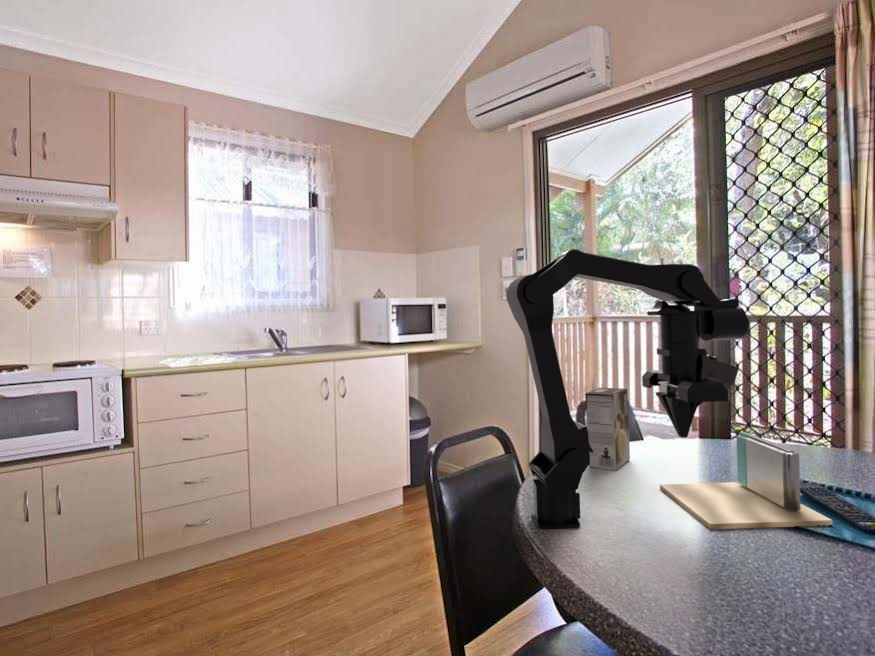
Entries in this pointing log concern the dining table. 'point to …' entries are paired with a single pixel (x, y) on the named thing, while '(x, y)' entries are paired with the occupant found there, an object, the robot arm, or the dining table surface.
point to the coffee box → (608, 427)
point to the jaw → (769, 472)
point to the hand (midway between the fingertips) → (683, 436)
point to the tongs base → (739, 504)
